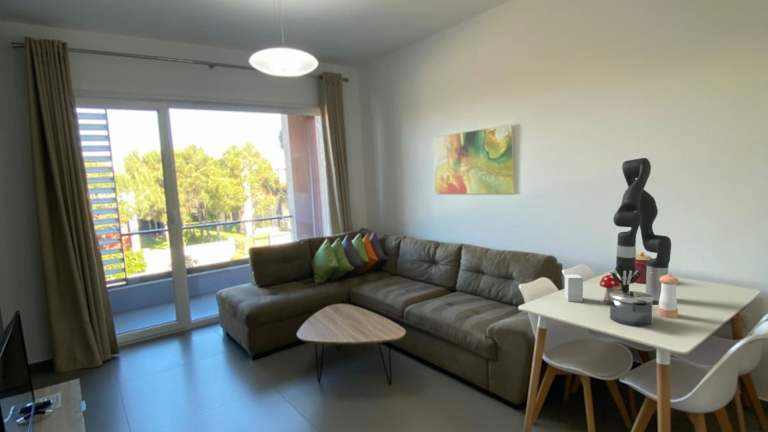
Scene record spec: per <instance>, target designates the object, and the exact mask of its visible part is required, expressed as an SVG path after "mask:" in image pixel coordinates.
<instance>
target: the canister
mask: <svg viewBox="0 0 768 432" xmlns="http://www.w3.org/2000/svg"><path fill="white" fill-rule="evenodd" d="M649 259H654V258H653V257H652V256H650V255H647V254H645V253H644V251H640V252H639V253H638V254H636V265H635V268H636V271H638V272H640V273H641V275H640V276H639V278H638V279H637V280H636V281H635V282H634V283H635V284H636V283H637V284H646V273H647V260H649ZM633 275H634V274H633ZM633 275H632V276H633ZM632 276H631V277H632Z"/></svg>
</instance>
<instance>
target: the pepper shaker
mask: <svg viewBox="0 0 768 432" xmlns="http://www.w3.org/2000/svg"><path fill="white" fill-rule="evenodd" d="M659 280H660V282H661V283H662V284H661V295H660V299H659V301H658V302H659V305H658V308H657V309H658V310H657V313H658V315H659V316H660V317H663V318H668V319H673V318H674V319H675V318H678V315H679V314H678V313H679V312H678V311H679V309H678V308H677V307H678V296H677V284H678V283H679V279H678V277H676V276H674V275H672V274H671V273H668V274H667V275H664V276H661V277H660V279H659Z"/></svg>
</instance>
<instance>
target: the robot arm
mask: <svg viewBox="0 0 768 432" xmlns="http://www.w3.org/2000/svg"><path fill="white" fill-rule="evenodd" d="M621 167H622V168H621V169H622V174H623V177H624V179H625V182H626V185H627V189H626V190H625V192H624V193H623V196H622V201H621V204H620V206H619V207H618V209H617V210H616V212H615V214H614V216H613V220H612V221H613V224H614V225H615V226H616V227H620V228H630V230H628V231H627V230H626V231H620V232H619V233H617V246H616V261H615V264H616V267H615V269H614V270H613V271H610V273H609V275H612V276H613V278H614V279H615V280H616V281H617V282H618V283H620V284H621V290H622V292H624V293H628V291H630V285H631V284H635V283H636V282H635V281H636V280H637V279H638V278H639V276H640V275H641V273H640V272H638V271H636V268H635V265H636V255H637V248H636V247H637V246H636V244H637V233H638V229H640V235H641V241H642V245H643V248H644V249H645V250H646V252H649V253H654V254H656V257H654V258H653V259H649V260H647V273H646V283H645V284H646V285H645V293H646V294H649V295H651V296H653V300H656V301H658V302H659V299H660V295H661V284H662V283H661V282H660V280H659V279H660V277H661V276H664V275H667V274H669V264H670V262H671V261H670V260H671V253H672V240H671V238H670V237H669V236H667V235H662V234H655V232H654V229H653V228H654V227H653V224H654V222H655V221H656V218H657V216H658V212H659V210H658V206H657V202H656V200H655V197H654V196H652V194H651V193H649V192H648V191H647V190H646V189H645V187H646V185H647V182H648V180H649V177H650V174H651V169H652V167H651V162H650V160H649V159H648V158H646V157H641V158H639V157H638V158H636V159H635V158H634V159H629V160H624V161H623V162H622V165H621ZM633 274H634V275H633ZM632 275H633V276H632ZM618 276H619V277H618ZM631 276H632V277H631Z"/></svg>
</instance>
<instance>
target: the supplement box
mask: <svg viewBox="0 0 768 432" xmlns="http://www.w3.org/2000/svg"><path fill="white" fill-rule="evenodd" d="M583 282H584V278H583V277H582V276H581V275H580V274H564V299H566V301H567V302H575V303H576V302H577V303H578V302H580V303H581V302H584V301H583V300H584V295H583V293H584V291H583V290H584V283H583Z"/></svg>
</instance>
